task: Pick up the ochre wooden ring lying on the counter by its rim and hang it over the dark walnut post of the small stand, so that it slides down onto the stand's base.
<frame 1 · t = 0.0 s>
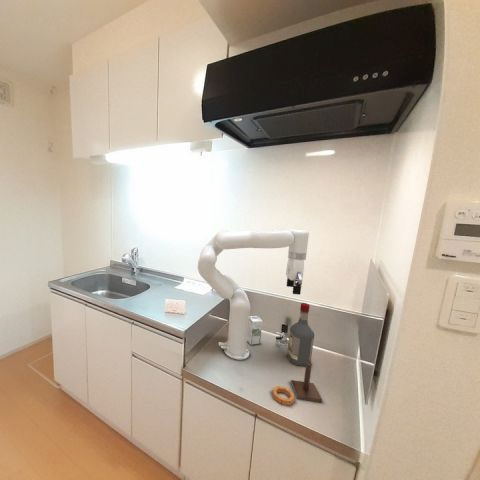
hand: (293, 290, 122), 37 cm above the worktop, tool pointing down, fingers open, 9 cm apart
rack: (305, 392, 107), on the worktop
ring: (283, 397, 104), on the worktop
liquor: (298, 360, 127), on the worktop
syrup box: (252, 342, 143), on the worktop
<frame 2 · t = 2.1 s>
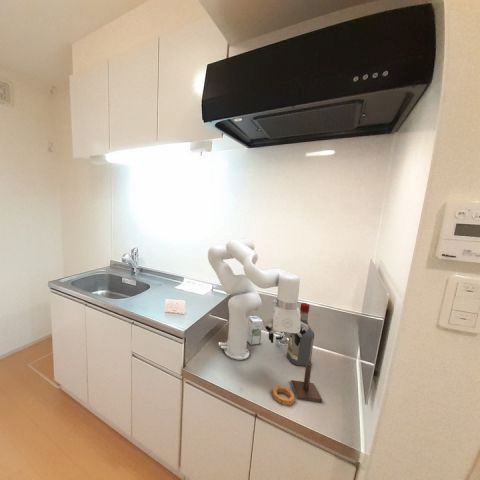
hand: (283, 342, 105), 21 cm above the worktop, tool pointing down, fingers open, 9 cm apart
nothing on the worktop moved.
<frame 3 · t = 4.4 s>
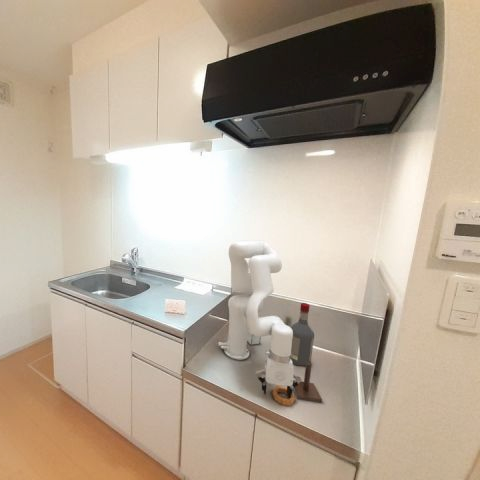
hand: (276, 393, 104), 2 cm above the worktop, tool pointing down, fingers open, 9 cm apart
ring: (283, 397, 104), on the worktop, touching gripper
everything else where it was.
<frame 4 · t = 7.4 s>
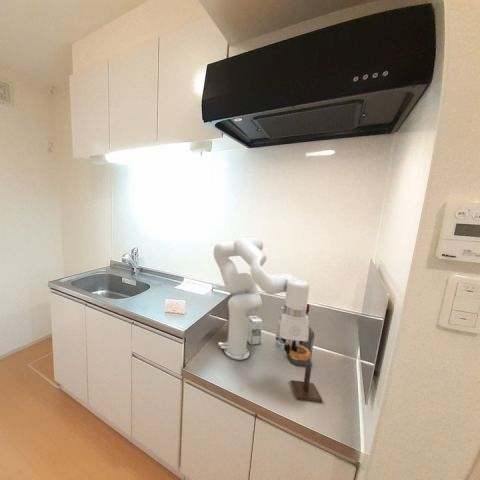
hand: (290, 352, 102), 19 cm above the worktop, tool pointing down, fingers closed on ring, 1 cm apart
ring: (298, 354, 102), point 19 cm above the worktop, touching gripper
everything else where it was.
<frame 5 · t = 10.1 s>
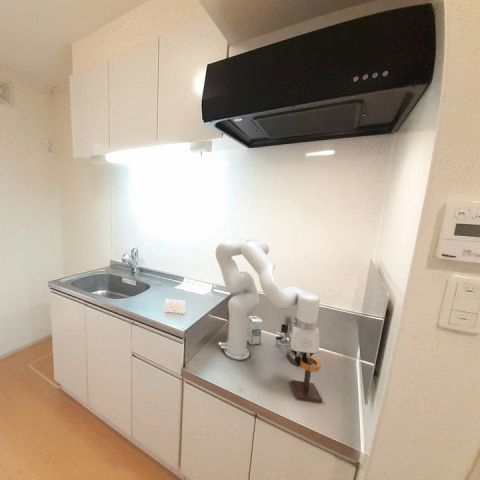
hand: (300, 364, 105), 13 cm above the worktop, tool pointing down, fingers closed on ring
ring: (308, 365, 104), point 13 cm above the worktop, touching gripper
everything else where it was.
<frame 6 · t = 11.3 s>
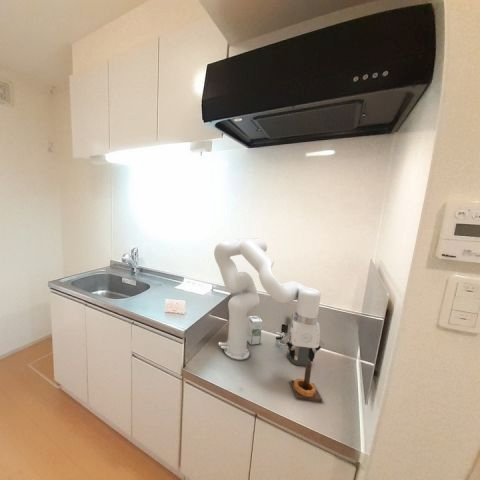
hand: (301, 358, 104), 16 cm above the worktop, tool pointing down, fingers open, 6 cm apart
ring: (304, 389, 106), point 1 cm above the worktop, touching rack
everything else where it was.
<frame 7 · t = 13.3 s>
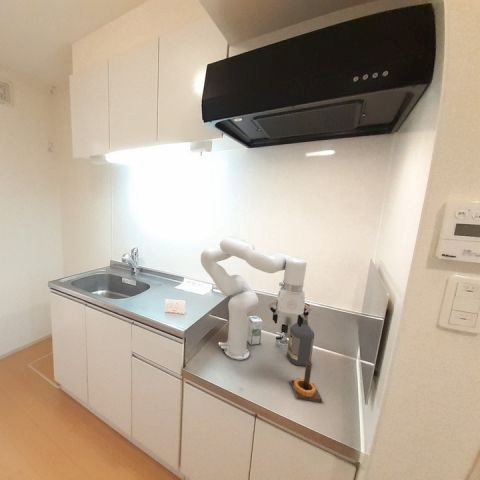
hand: (286, 323, 110), 27 cm above the worktop, tool pointing down, fingers open, 9 cm apart
nothing on the worktop moved.
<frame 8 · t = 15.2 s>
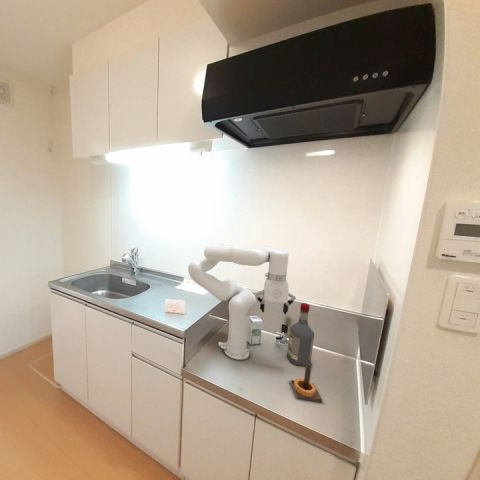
hand: (273, 312, 117), 28 cm above the worktop, tool pointing down, fingers open, 9 cm apart
nothing on the worktop moved.
at the end: ring 0.7 cm from the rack (horizontally); ring point 1.5 cm above the worktop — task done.
